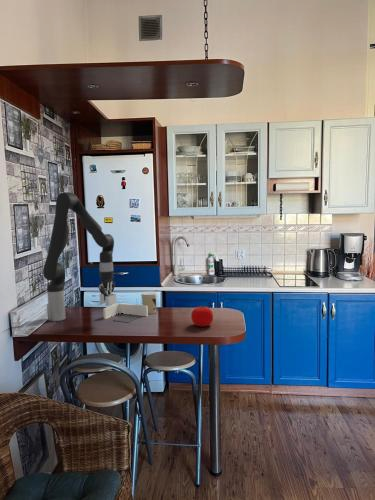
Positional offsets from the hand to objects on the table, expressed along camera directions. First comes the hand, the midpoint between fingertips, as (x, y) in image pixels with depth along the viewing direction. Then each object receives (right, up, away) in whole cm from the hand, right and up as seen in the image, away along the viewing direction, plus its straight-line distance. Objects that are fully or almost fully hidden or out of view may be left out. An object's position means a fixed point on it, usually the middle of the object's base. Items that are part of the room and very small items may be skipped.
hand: (107, 300), depth 210 cm
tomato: (+53, -12, -10) cm, 55 cm away
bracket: (-1, -2, -2) cm, 3 cm away
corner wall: (+9, -11, +10) cm, 18 cm away
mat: (+10, -12, +7) cm, 17 cm away
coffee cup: (+22, -10, +20) cm, 31 cm away
